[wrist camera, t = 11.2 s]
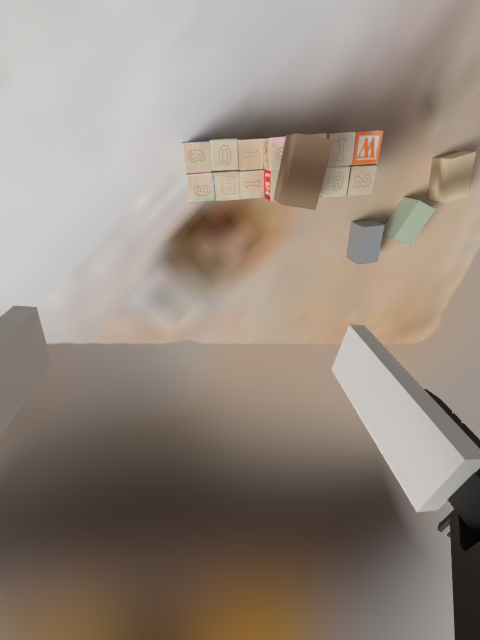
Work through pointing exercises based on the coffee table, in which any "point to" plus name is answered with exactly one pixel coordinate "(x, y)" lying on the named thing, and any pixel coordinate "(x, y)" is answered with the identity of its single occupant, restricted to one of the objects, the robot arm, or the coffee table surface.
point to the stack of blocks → (276, 166)
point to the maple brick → (451, 176)
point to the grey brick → (365, 241)
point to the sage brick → (408, 220)
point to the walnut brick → (302, 170)
